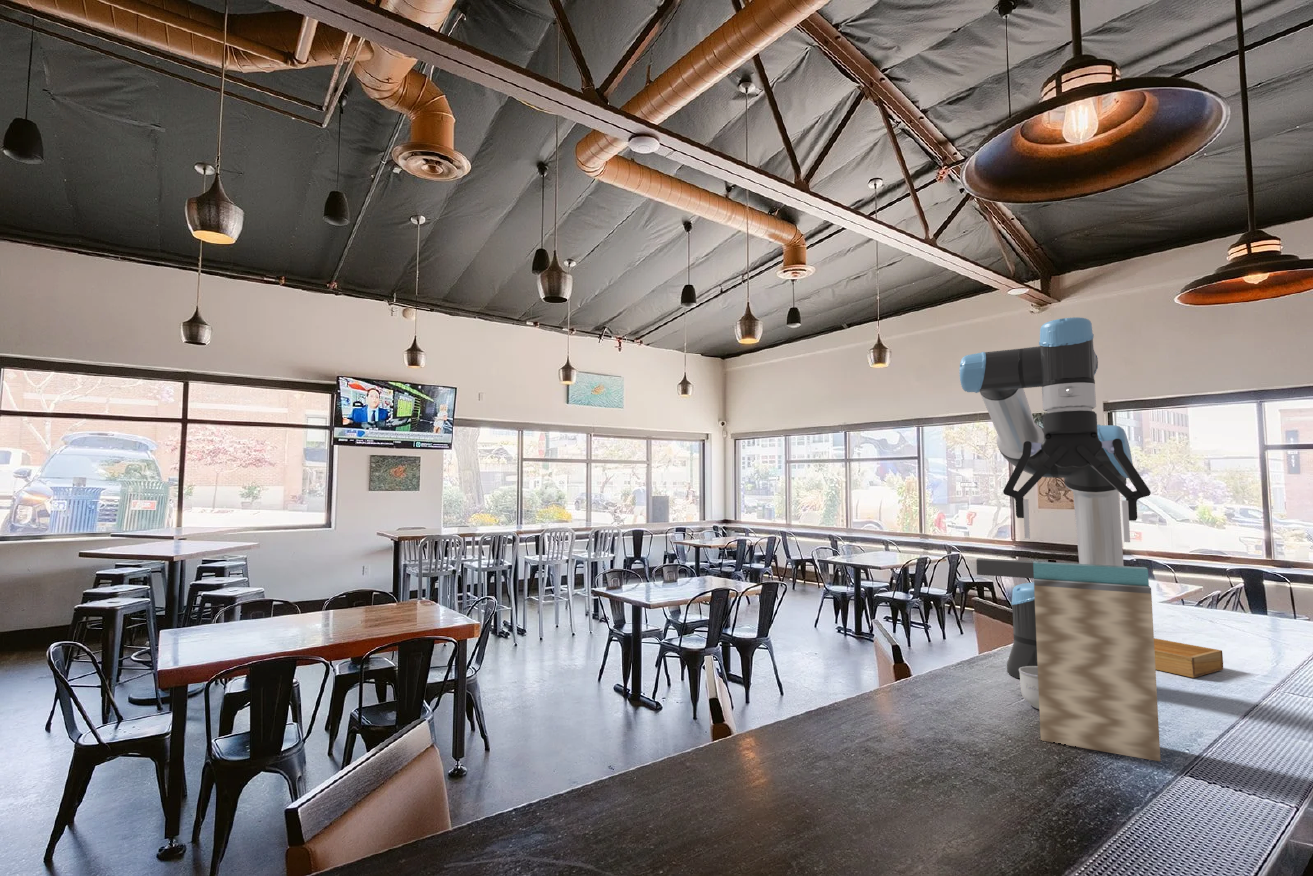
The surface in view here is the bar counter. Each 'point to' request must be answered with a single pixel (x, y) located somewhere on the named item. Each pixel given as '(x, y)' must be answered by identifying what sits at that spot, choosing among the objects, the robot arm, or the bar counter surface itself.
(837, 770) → the bar counter surface
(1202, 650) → the tray
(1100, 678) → the pedestal
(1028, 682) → the teacup
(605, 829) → the bar counter surface
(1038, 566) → the teal and grey bar
